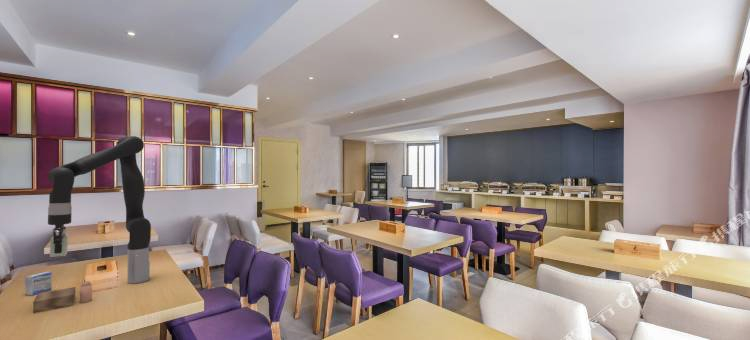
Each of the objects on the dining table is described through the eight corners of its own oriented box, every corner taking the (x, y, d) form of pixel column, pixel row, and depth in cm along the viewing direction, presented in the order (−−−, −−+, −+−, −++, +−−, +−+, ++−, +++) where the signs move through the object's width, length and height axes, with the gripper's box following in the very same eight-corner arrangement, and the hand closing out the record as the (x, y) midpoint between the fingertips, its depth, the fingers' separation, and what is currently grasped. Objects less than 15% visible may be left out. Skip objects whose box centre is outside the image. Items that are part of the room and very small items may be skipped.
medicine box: (32, 295, 153) (32, 277, 153) (24, 295, 154) (24, 276, 154) (51, 289, 161) (51, 271, 161) (44, 289, 162) (44, 271, 162)
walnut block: (75, 297, 151) (75, 287, 151) (73, 306, 142) (73, 294, 142) (38, 304, 144) (38, 293, 144) (33, 314, 134) (33, 301, 134)
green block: (67, 253, 149) (67, 235, 149) (65, 255, 145) (66, 237, 145) (51, 254, 146) (52, 236, 146) (49, 257, 142) (50, 238, 142)
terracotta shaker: (92, 298, 150) (92, 279, 150) (91, 301, 146) (91, 281, 146) (80, 300, 147) (80, 280, 147) (79, 303, 144) (79, 283, 144)
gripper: (69, 214, 143) (68, 254, 142) (73, 211, 154) (72, 247, 154) (45, 215, 138) (44, 256, 138) (50, 212, 149) (49, 250, 149)
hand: (59, 251), depth 146 cm, fingers closed on green block, 5 cm apart
